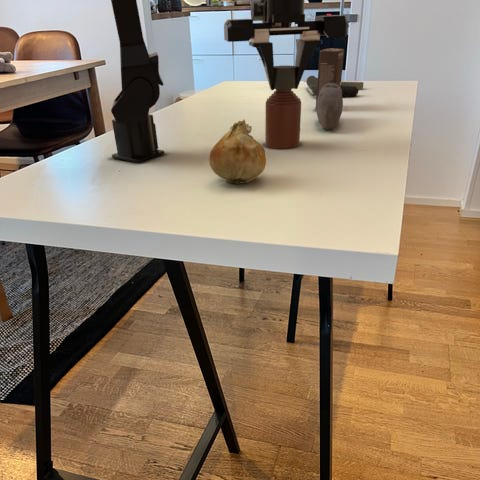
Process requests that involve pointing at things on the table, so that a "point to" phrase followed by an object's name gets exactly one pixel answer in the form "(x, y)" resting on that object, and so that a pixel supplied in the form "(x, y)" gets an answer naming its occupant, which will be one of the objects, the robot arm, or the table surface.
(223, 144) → the onion
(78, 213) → the table surface
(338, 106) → the perforated stone tool
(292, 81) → the cap
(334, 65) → the box
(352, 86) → the door handle
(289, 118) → the bottle
